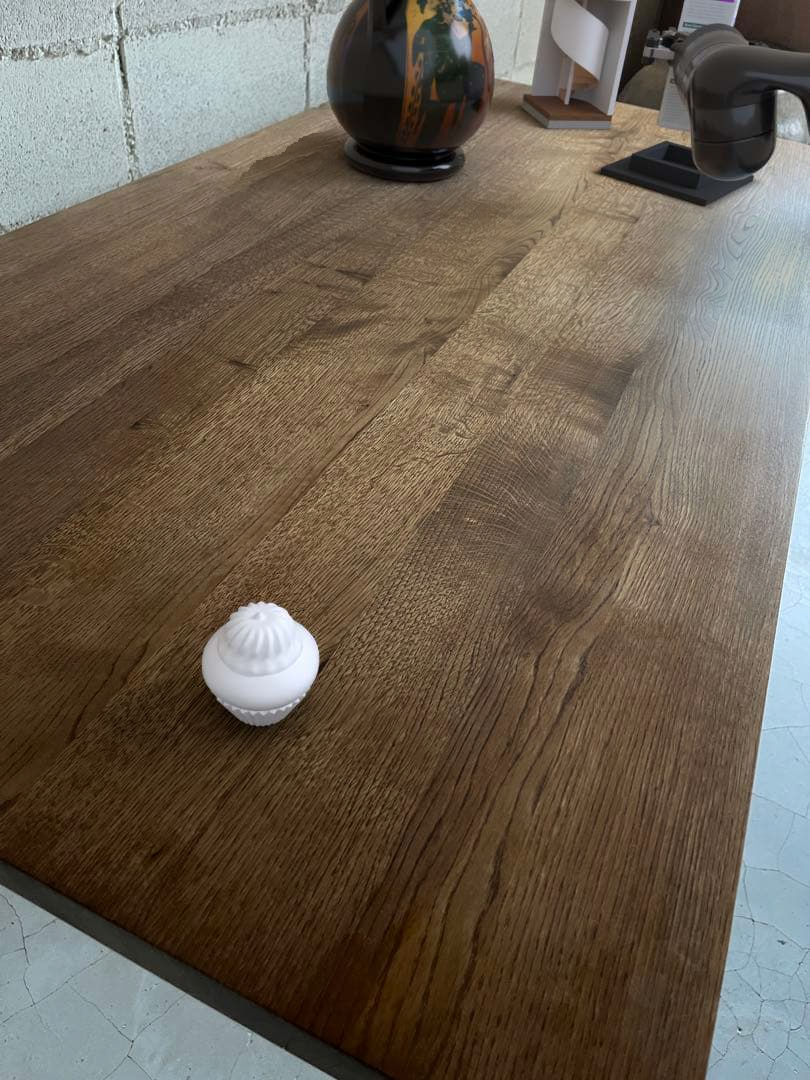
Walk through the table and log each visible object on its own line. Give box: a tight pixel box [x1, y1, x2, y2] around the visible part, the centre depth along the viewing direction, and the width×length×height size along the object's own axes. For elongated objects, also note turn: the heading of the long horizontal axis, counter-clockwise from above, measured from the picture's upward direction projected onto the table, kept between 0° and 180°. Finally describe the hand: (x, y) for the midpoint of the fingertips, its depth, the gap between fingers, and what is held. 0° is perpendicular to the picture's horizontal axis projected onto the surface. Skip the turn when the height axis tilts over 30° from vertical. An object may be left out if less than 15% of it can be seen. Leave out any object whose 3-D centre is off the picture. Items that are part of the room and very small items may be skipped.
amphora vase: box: [325, 0, 496, 183], centre depth 115 cm, size 22×22×28 cm
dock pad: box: [599, 140, 755, 207], centre depth 128 cm, size 16×16×3 cm
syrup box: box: [656, 0, 741, 133], centre depth 104 cm, size 6×6×14 cm
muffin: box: [201, 600, 320, 727], centre depth 48 cm, size 6×6×7 cm
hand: (700, 41), depth 105 cm, fingers closed on syrup box, 6 cm apart
